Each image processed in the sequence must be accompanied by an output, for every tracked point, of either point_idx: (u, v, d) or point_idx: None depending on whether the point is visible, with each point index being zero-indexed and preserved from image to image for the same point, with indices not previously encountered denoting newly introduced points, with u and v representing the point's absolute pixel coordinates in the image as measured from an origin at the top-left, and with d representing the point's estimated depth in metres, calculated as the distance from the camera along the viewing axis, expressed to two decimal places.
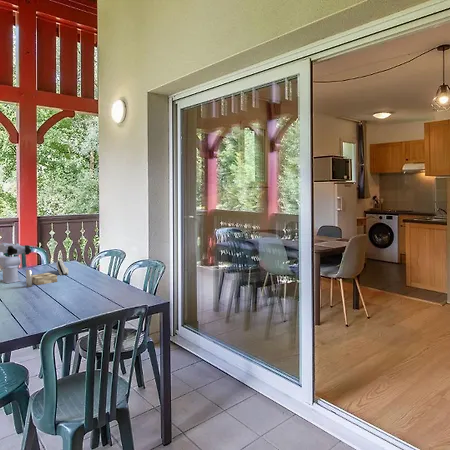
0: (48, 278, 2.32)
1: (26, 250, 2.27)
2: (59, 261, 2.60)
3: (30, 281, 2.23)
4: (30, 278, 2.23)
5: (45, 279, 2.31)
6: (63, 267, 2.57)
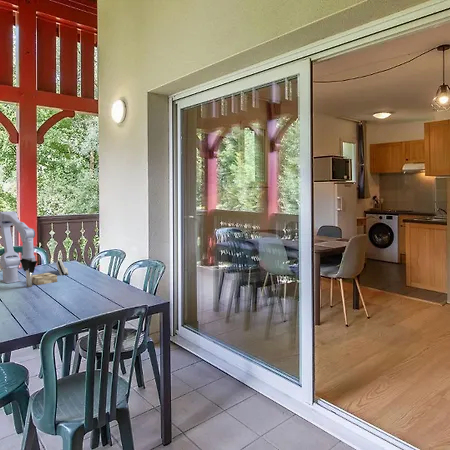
0: (48, 278, 2.32)
1: (25, 262, 2.25)
2: (59, 261, 2.60)
3: (30, 281, 2.23)
4: (30, 278, 2.23)
5: (45, 279, 2.31)
6: (63, 267, 2.57)
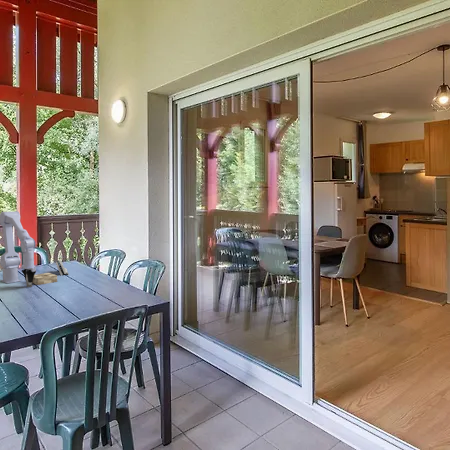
0: (48, 278, 2.32)
1: None
2: (59, 261, 2.60)
3: None
4: None
5: (45, 279, 2.31)
6: (63, 267, 2.57)
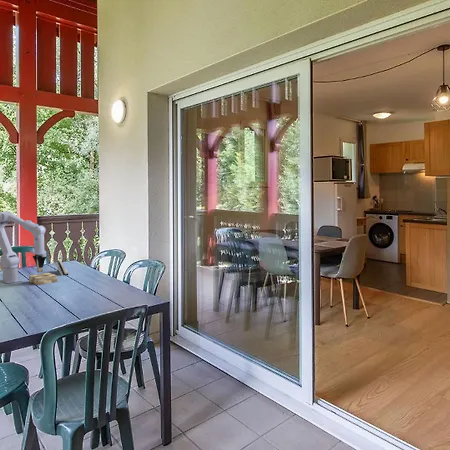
0: (48, 278, 2.32)
1: None
2: (59, 261, 2.59)
3: None
4: None
5: (45, 279, 2.31)
6: None
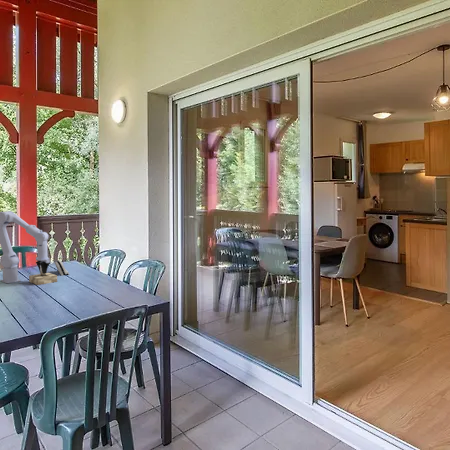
0: (48, 278, 2.32)
1: None
2: (59, 261, 2.59)
3: None
4: None
5: (45, 279, 2.31)
6: None
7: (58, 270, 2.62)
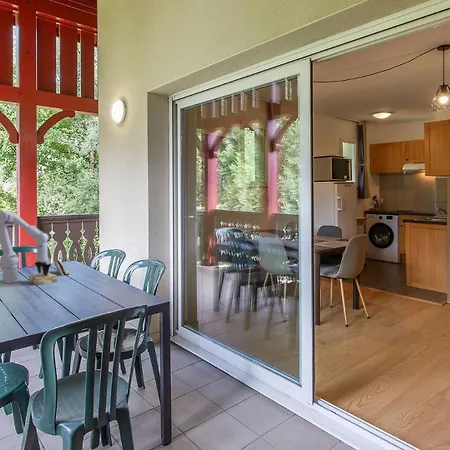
0: (48, 278, 2.32)
1: (40, 265, 2.37)
2: (59, 261, 2.59)
3: None
4: None
5: (45, 279, 2.31)
6: (64, 267, 2.56)
7: (58, 270, 2.62)
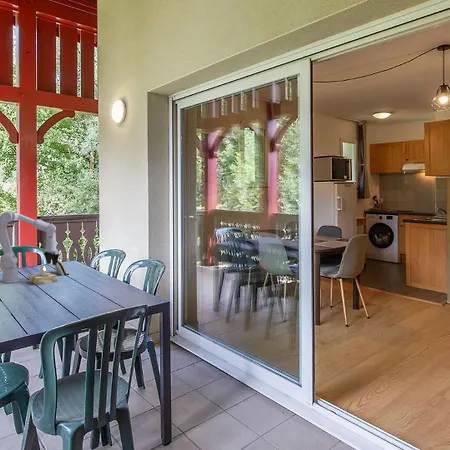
0: (48, 278, 2.32)
1: (48, 255, 2.44)
2: (58, 262, 2.58)
3: None
4: (44, 274, 2.35)
5: (45, 279, 2.31)
6: (64, 267, 2.56)
7: (58, 270, 2.61)
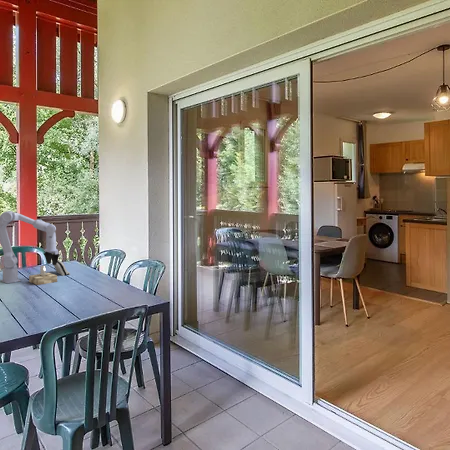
0: (48, 278, 2.32)
1: (48, 255, 2.44)
2: (58, 262, 2.58)
3: None
4: (44, 274, 2.35)
5: (45, 279, 2.31)
6: None
7: (57, 270, 2.61)
